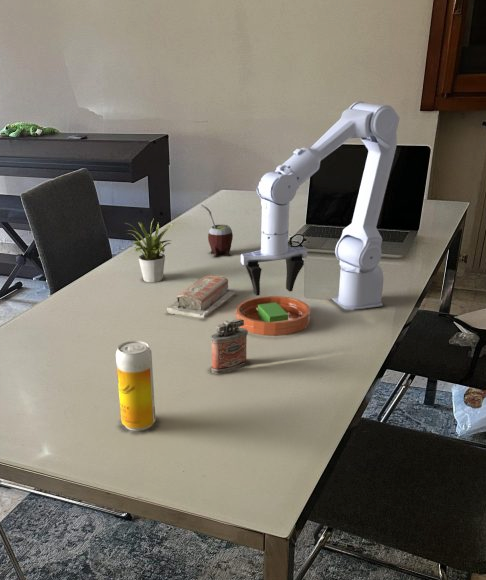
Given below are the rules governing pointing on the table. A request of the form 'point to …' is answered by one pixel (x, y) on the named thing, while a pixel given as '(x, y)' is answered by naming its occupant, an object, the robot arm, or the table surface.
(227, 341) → the lighter
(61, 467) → the table surface
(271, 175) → the robot arm
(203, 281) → the packaged product
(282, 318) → the eraser with green sleeve
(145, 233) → the house plant
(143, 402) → the beer can
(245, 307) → the bowl
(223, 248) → the mate gourd
